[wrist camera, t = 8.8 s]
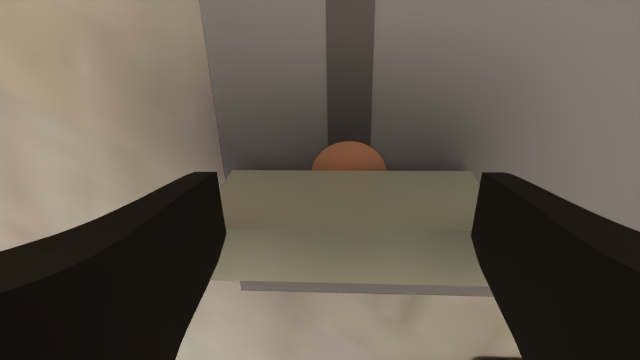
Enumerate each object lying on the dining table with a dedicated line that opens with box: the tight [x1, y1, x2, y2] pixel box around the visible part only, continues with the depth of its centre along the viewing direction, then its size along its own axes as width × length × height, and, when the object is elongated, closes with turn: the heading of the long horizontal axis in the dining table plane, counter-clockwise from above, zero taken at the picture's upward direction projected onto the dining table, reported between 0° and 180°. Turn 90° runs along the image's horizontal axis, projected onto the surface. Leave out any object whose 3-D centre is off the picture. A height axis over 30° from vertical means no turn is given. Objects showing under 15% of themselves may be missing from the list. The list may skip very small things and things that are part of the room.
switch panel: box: [199, 0, 640, 297], centre depth 15 cm, size 16×24×2 cm, turn 91°
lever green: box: [210, 170, 489, 287], centre depth 14 cm, size 2×9×4 cm, turn 91°
